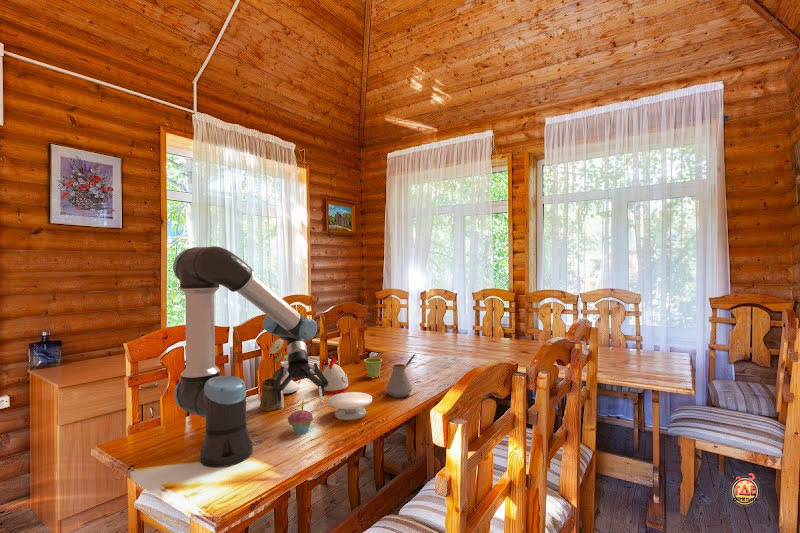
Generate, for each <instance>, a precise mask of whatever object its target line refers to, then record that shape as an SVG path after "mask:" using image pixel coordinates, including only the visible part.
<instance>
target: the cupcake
mask: <svg viewBox="0 0 800 533" xmlns="http://www.w3.org/2000/svg"><path fill="white" fill-rule="evenodd" d="M304 404H305V400H304V399H302V400H301V410H300V409H298V410H295V411H293V412H292V413H291V414H289V416H288V418H287V422H288V424H289V425H290V426H292V429H293V432H294V434H297V435H303V434H306V433H308V431H309V429H310V426H311V423H312V422H313V421H314V417H313V414H312V413H311V412H310V411H308V410H306V409H304Z"/></svg>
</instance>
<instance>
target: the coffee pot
mask: <svg viewBox="0 0 800 533" xmlns="http://www.w3.org/2000/svg"><path fill="white" fill-rule="evenodd" d="M415 356H416V354H412V355H411V357H410V358H409V359H408V361H407V362H406V364H401V363H398V364H397V363H396V364H392V365H391V368H392V373H391V375H390V378H389V381H388V382H387V384H386V392H387V394H389V395H390V397H392V398H405V397H407V396H408V395H409V394H410V393H411V392H412V390H413V387H412V384H411V382H410V380H409V377H408V375H407V372H406V371H405V370H406V368H407V367H408V366H409V365H410V364H411V362H412V361H413V359H416V357H415Z"/></svg>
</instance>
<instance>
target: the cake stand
mask: <svg viewBox="0 0 800 533" xmlns="http://www.w3.org/2000/svg"><path fill="white" fill-rule="evenodd" d="M372 403H373V396H372V395H371V394H369V393H366V392H359V391H351V392H350V391H349V392H347V391H346V392H342V393H338V394H333V395H331V396H330V397H329V398H328V400H327V404H328V406H329V407H331V408H333V409H337V410H335V411H334V417H335V418H336V419H338V420H341V421H354V420H355V421H357V420H359V419H362V418H364V417H365V416H366V415H367V410H366V408H364V407H367V406H369V405H371V404H372Z"/></svg>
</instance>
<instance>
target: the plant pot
mask: <svg viewBox="0 0 800 533" xmlns="http://www.w3.org/2000/svg"><path fill="white" fill-rule="evenodd" d="M363 362H364V364H365V370H366V375H367V378H370V377H376V378H379V377H380V374H381V368H382V367H381V366H382V362H383V359H382V358H380V357H370V358H365V359H363ZM378 376H379V377H378Z"/></svg>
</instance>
